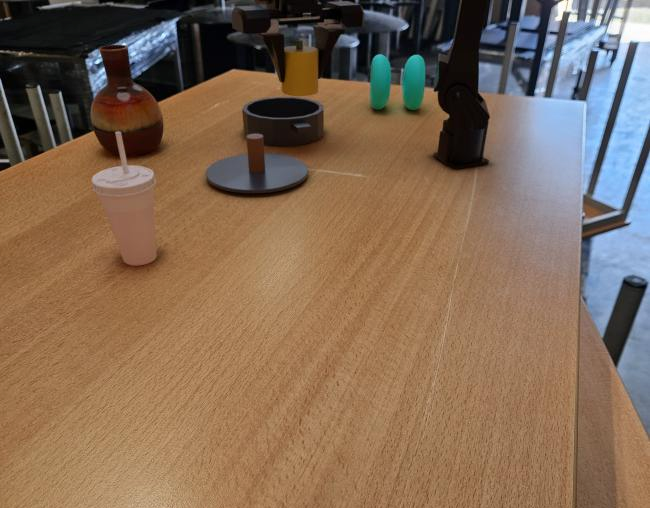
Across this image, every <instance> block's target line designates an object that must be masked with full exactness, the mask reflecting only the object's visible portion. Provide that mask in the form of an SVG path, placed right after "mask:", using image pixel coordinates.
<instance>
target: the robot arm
mask: <svg viewBox="0 0 650 508" xmlns="http://www.w3.org/2000/svg"><path fill="white" fill-rule="evenodd" d="M489 1H490V0H459V5H458V11H457V17H456V23H455V26H454V31H453V32H454V33H453V38H452V42H451V45H450V47H449V49H448V52H447V54H443V53H438V54H437V71H436V74H435V77H434V78H433V82H432V83H433V93H437V103H438V105H439V107H440V109H441V110H442V112H444V113H445V114H447V115H448V118H447V119H443V122H442V129H441V130H440V131H439V137H438V144H437V145H438V146H437V152H434V153H433V158H435V159H437V160H439V161H440V162H442V163H444V164H446V165H447V166H449V167H450V168H452V169H455V170H457V169H458V170H459V169H465V168H469V167H476V166H483V165H488V164H489V162H490V160H489V159H488V158H486V157H484V152H485V147H486V140H487V134H488V129H489V123H490V118H491V115H490V112H489V109H488V105H487V103H486V100H485V99H484V97H483V96H482V95H481V93H480V92H479V82H480V46H481V45H480V44H481V40H482V35H483V31H484V26H485V20H486V15H487V11H488V6H489ZM254 4H255V5H238V6H234V7H233V9H232V11H231V14H230V16H231V17H230V18H231V28H232V29H233V30H235V31H237V32H239V33H240V34H242V35H243V34H244V35H254V36H256V37H257V38H261V40H262V42H263V43H264V45H265V47H266V49H267V51H268V53H269V56H270V59H271V61H272V64H273V67H274V70H275V73H276V76H277V78H278V81H279V82H280V83H281V84H282V83H284V79H285V50H284V47H285V34H283V33H281V32H280V26H288V25H303V24H313V25H312V29H313V35H314V40H315V43H314V47H315V48H317V49H318V80H321V77H322V75H323V73H324V70H325V67H326V65H327V62H328V61H329V58H330V56H331V54H332V52H333V50H334V47H335V46H336V44H337V42H338V40H339V39H340V36H342V35H346V32H347V30H346V29H344V28H342V27H345V28H361V27H364V26H365V11H364V8H363V6H362V5H361V4H359V3H355V2H352V1H349V0H342V1H327V2H326V4H325V6H324V8H323V3H321V2H320V0H254ZM262 5H263V6H264V5H266V7H263V6H262Z"/></svg>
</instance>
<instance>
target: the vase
mask: <svg viewBox="0 0 650 508" xmlns="http://www.w3.org/2000/svg"><path fill="white" fill-rule="evenodd" d="M98 50H99V54H100V57H101V60H102V65H103V68H104V72H105V77H106V85H105V86H103V87H102V88H101V89H99V90H98V92H97V93H96V95H95V96H94V98H93V100H92V101H91V106H90V112H89V113H90V122H91V127H92V130H93V133H94V134H95V137H96V139H97V141H98V142H99V144H100V145H101V146H102V148H103V149H104V150H105V151H107V152H108V153H109V154H111V155H114V156H118V157H120V153H119V149H118V144H117V139H116V134H115V132H121V135H122V140H123V145H124V150H125V155H126V157H139V156H142V155H147V154H150V153H152V152H154V151H156V150H157V149H158V148H159V146H160V144H161V143H162V139H163V136H164V135H163V134H164V116H163V112H162V109H161V106H160V104H159V102H158V101H157V99H156V98H155V96H153V94H152V93H151V92H150V91H149V90H147V89H146V88H145V87H143V86H141V85H140V84H138V83H136V82H134V80H133V76H132V69H131V62H130V53H129V52H130V51H129V47H128V46H127V45H125V44H108V45H102V46H100V47H99V48H98Z"/></svg>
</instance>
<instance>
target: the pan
mask: <svg viewBox="0 0 650 508" xmlns="http://www.w3.org/2000/svg"><path fill="white" fill-rule="evenodd" d="M241 112H242V125H243V126H242V127H243V133H244V136H245V138H246V136H247V135H249V134H261V135H263V140H264V146H269V147H271V146H272V147H293V146H302V145H306V144H310V143H313V142H316V141H318V140H320V139H321V138H322V137H323V136H324V128H325V126H324V124H325V123H324V120H325V119H324V115H325V113H324V112H325V109H324V104H323V103H321V102H319V101H318V100H314V99H310V98H306V97H299V96H274V97H273V96H272V97H262V98H258V99H255V100H252V101H251V100H250V101H249V102H247V103H245V104H244V105H243V107H242V109H241Z"/></svg>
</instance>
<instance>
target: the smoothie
mask: <svg viewBox="0 0 650 508" xmlns="http://www.w3.org/2000/svg"><path fill="white" fill-rule="evenodd" d="M115 134H116V139H117V144H118V149H119V153H120V156H119V158H120V163H121V165H118V166H112V167H107V168H106V169H102V170H100V171H98V172H97V173H95V174H94V175H93V176H92V177H91V184H92V190H93V192H94V193H96V194H97V195H98V197H99V200H100V204H101V206H102V208H103V211H104V214H105V216H106V218H107V219H106V220H107V221H108V224H109V227H110V230H111V232H112V234H113V237H114V240H115V242H116V245H117V247H118V251H119V254H120V256H121V258H122V261H123V263H125V264H126V265H128V266H138V267H139V266H143V265H148V264H151V263H152V262H154V261H155V260H156V259H157V256H158V255H157V252H158V251H157V235H156V215H155V213H156V211H155V191H154V187H155V185H156V183H157V180H156V178H155V172H154V171H153V170H152V169H151V168H149V167H146V166H142V165H134V164H133V165H130V164H129V165H128V161H127V156H126V155H125V150H124V145H123V140H122V135H121V132H115Z"/></svg>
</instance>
